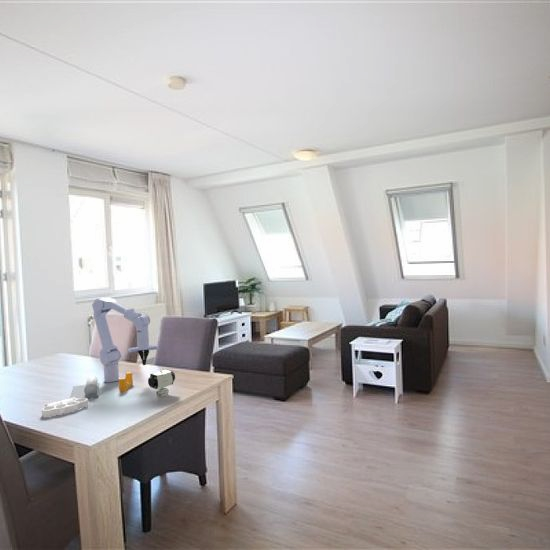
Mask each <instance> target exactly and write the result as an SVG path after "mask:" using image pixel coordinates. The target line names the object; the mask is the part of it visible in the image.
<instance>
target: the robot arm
mask: <svg viewBox="0 0 550 550" xmlns="http://www.w3.org/2000/svg"><path fill="white" fill-rule="evenodd" d="M91 306H92V310H93V318H94V322H95V325H96V330H97V332H98V337H99V341H100V343H101V349H100V351H99V361H100V363H101V364H102V366H103V376H104V377H103V383H105V382H106V383H111V382H119V379H120V378H121V377H120V374H119V373H120V372H119V371H120V370H119V361H120V360H121V358H122V353H121V351H120V350H119V347H118V346H117V345H116V344H114V343H113V338H112V336H111V330H110V328H109V323H108V321H107V317H106V316H107V315H108V313H109V312H110V311H112V310H114V311H116V312H118V314H121V315H123V317H124V319H126V320H128V321H130V322H131V323H133V325H134V326H135V330H136V341H137V342H136V347H129V348H128V349H127V351H128V353H129V354H131V353H137V352H138V355H139V356H140V359H141V362H142V366H146V365H147V361H148V360H147V359H148V357H149V353H150V351H153V350H159V345H158V344H155V345H150V340H149V339H150V338H149V334H150V333H149V325H150V323H151V318H150V316H149V315H148V314H146V313H145V314H142V313H141V312H138V311H136V310H135V308H132V307H131V308H130V307H129V308H127V307H126V306H123V304H121V303H119V302H118V301H116V299H115V298H113V297H110V296H108V297H105V298H104V297H103V298H96V299H95V300H94V301H93V302H92V304H91Z"/></svg>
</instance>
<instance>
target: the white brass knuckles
mask: <svg viewBox="0 0 550 550" xmlns="http://www.w3.org/2000/svg"><path fill="white" fill-rule="evenodd" d="M87 406H88V407H89V399H87V398H75V397H73V398H71V399H70V398H67V399H62V400H59V401H54V402H51V403H46V404H45V405H44V407H43V408H41V417H42V418H44V417H49V418H52V416H53V417H55V416H56V415H60V416H63V414H65V415H67V414H70V413H69V412H72V413H75V412H78V411H79V410H78V409H80V408H83V409H85V408H84V407H86V408H88V407H87ZM77 410H78V411H77ZM80 410H81V409H80ZM74 411H75V412H74ZM66 413H67V414H66Z"/></svg>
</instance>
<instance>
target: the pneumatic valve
mask: <svg viewBox="0 0 550 550" xmlns="http://www.w3.org/2000/svg"><path fill="white" fill-rule="evenodd" d="M175 380H176V375H175V372H174V371H173V370H169V369H164V370H163V369H160V371H158V372H153V373H150V376H149V377H148V378H147V385H148V386H149V387H150V388H152V389H154V390H156V392H155V394H156V396H157V397H160V398H163V397H167V396H168V395H169V388H168V387H169V386H171V385H174V383H175Z"/></svg>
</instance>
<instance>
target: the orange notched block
mask: <svg viewBox="0 0 550 550" xmlns="http://www.w3.org/2000/svg"><path fill="white" fill-rule="evenodd" d="M133 380H134V379H133V371H127V372H126V373H125V377H120V379H119V381H118V386H119V393H126V391H127V390H129V389H130V388H131V387H132V386H133V385H132V384H133V383H134V382H133ZM131 385H132V386H131Z"/></svg>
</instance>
